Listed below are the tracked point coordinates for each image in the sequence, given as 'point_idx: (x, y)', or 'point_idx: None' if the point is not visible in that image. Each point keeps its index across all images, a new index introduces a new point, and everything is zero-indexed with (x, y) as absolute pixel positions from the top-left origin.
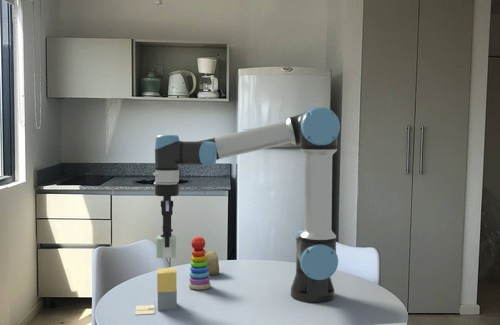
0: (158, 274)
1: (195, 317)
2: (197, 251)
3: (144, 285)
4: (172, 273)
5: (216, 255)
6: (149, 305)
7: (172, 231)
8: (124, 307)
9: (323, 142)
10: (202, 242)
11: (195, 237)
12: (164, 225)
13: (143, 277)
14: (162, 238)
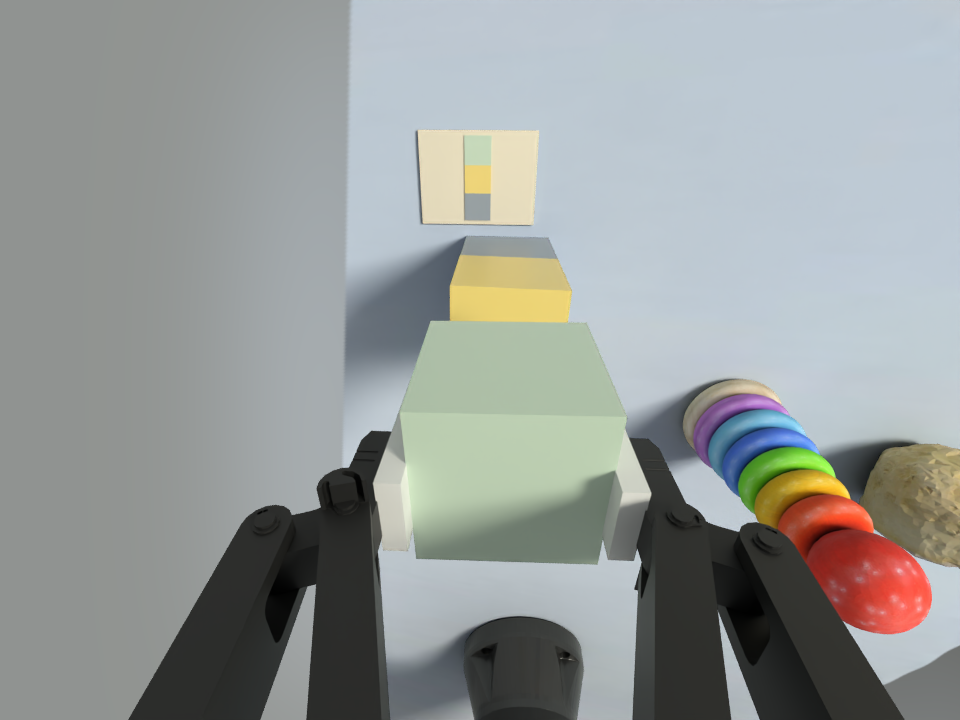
0: (450, 290)
1: (373, 368)
2: (802, 534)
3: (891, 168)
4: None
5: (935, 560)
6: (530, 199)
7: (638, 580)
8: (538, 63)
9: None
10: None
11: (904, 607)
12: (180, 651)
13: None
14: (440, 463)
